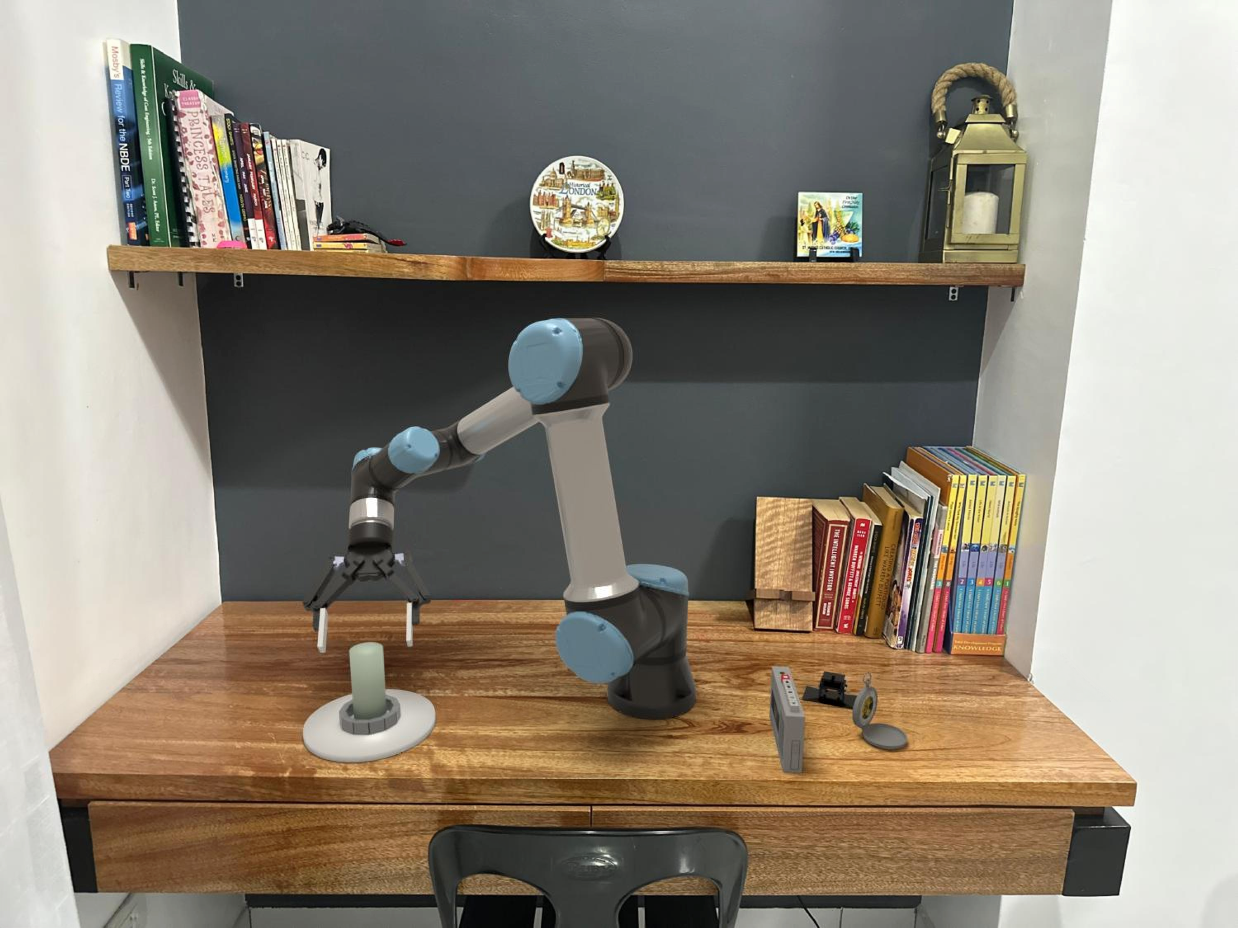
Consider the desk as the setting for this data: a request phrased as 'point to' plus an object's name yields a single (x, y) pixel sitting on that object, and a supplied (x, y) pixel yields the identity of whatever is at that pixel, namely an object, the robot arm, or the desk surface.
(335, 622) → the desk surface
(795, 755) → the cassette player
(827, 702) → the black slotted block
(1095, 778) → the desk surface
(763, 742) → the desk surface
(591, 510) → the robot arm
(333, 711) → the carrier plate
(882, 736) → the pocket watch
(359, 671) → the sage green cylinder
